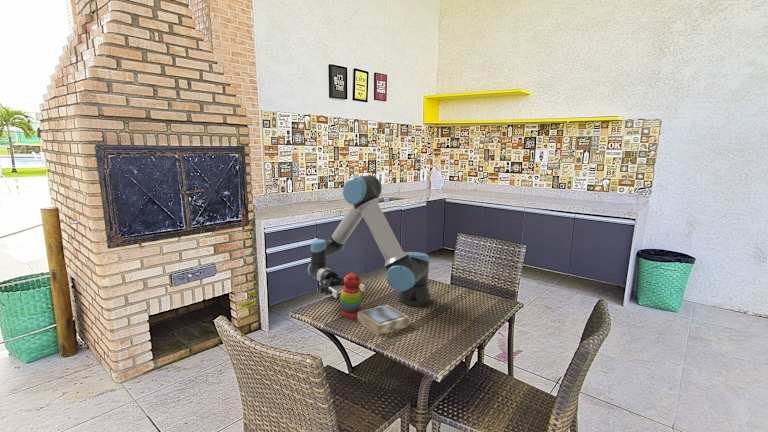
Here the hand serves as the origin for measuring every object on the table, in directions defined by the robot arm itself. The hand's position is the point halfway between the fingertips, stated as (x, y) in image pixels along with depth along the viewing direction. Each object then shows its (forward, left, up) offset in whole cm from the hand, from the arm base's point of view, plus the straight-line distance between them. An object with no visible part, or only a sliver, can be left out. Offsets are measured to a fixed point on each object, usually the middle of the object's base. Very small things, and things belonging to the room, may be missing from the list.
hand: (350, 291), depth 162 cm
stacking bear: (0, 0, -10) cm, 10 cm away
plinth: (-6, +15, -10) cm, 19 cm away
